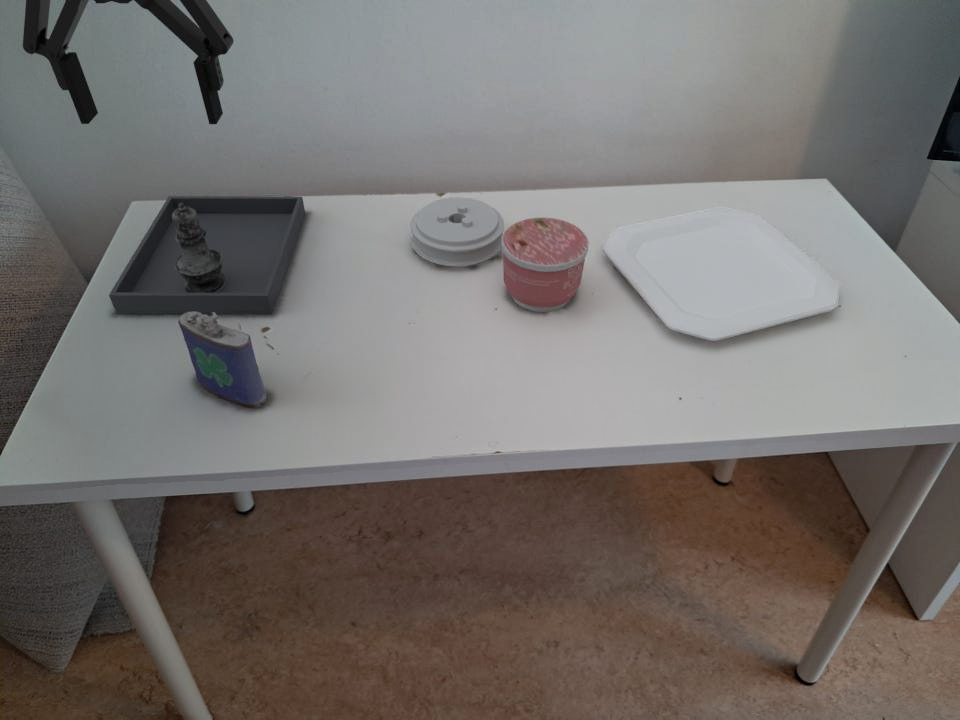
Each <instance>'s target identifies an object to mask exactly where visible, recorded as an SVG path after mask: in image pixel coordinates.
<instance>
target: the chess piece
mask: <svg viewBox="0 0 960 720" xmlns="http://www.w3.org/2000/svg"><path fill="white" fill-rule="evenodd" d="M178 206H179V208H177V209H176V210H175V211H174V212H173V214H172V219H173V222H174V225H175V228H176V231H177V235H176V237H175V239H176V241H177V242H178V243H180V246H181V249H182V253H183V254H182V255H180V256H179V257H178V258H177V260H176V261H175V264H174V267H175V270H176V271H177V272H178V273H180V275H181V276H182V277H183V278H184V279H185V280H186V283H185V285H184V289H185V291H186V292H187V293H218V292H219V291H221V290H222V289H223V288H224V287H225V286H226V284H227V278H226V276H225V275H224V274H222V273H220V272H221V269H222V262H223V256H222V254H221V253H220V252H219V251H217V250H215V249H211V248H208V246H207V244H206V240H205V236H206V232H205V230H204V229H202V228H201V226H200V223H199V219H198V216H197V213H196V211H195V210H194V209H193V208H191V207H188V206H184V204H183V203H182V202H180V203H179V205H178Z"/></svg>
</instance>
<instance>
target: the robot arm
mask: <svg viewBox="0 0 960 720" xmlns="http://www.w3.org/2000/svg"><path fill="white" fill-rule="evenodd" d="M132 1H134V2H135V3H136V4H137V5H138V6H139V7H140V8H142V9H144V10H147V11H148V12H150V13H151V14H152V15H153V16H154V17H155V18H156V19H157V20H158V21H159V22H160V23H161V24H162V25H164V26H165V27H166V28H167V30H169V31H170V32H171V33H172V34H173V35H174V36H176V37H177V38H178V39H179V40H180V41H181V42H182V43H183V44H184V45H185V46H187V48H188V49H190V50H191V51H192V52H193V53H194V54H195V55H196V56H197V57H196V58H195V59H194V61H193V67H194V71H195V74H196V78H197V83H198V85H199V90H200V93H201V97H202V101H203V106H204V109H205V113H206V117H207V121H208V124H209V125H218V123H219V121H220V119H221V118H222V116H223V114H224V112H223V107H222V104H221V100H220V96H219V92H218V91H221V89H222V87H223V86H224V81H225V80H224V76H223V71H222V68H221V63H220V58H219V56H221V55H226V54H228V52H229V50H230V49H231V47H232V46H233V44H234V38H233V36H232V35H231V33H230V32H229V30H228V29H227V27H226V26H225V25H224V23H223V22H222V20H221V19H220V18H219V16H218V14H217V13H216V12H215V11H214V9H213V8H212V7H211V5H210V3H209V2H208V1H207V0H179V1H180V3H181V5H182V6H183V7H184V9H185V10H186V11H187V13H188V14H189V15H190V17H191V18H192V19H193V20H192V19H191V18H190V17H189V16H188V15H186V13H185V12H183V11H182V10H181V8H179V7H178V6H177V5H176V4H175V3H174V2H173V1H172V0H93V2H95V4H106V3H110V2H113V3H117V4H121V5H122V4H123V5H125V4H130V3H131V2H132ZM89 2H90V0H65V1H64V4H63V6H62V8H61V11H60V13H59V15H58V18H57V20H56V22H55V24H54V27H53V29H52V31H51V33H50V36H49V38H47V37H48V29H49V19H50V7H51V0H25V9H24V23H23V24H24V25H23V34H22V35H23V36H22V48H23V51H25V53H27V54H29V55H34V54H37V55H39V56H42V57H44V58H46V59H47V61H48V62H49V65H50V67H51V70H52V73H53V74H54V77H55V80H56V83H57V85H58V86H59V88H60V89H61V91H68V93H69V95H70V98H71V101H72V103H73V106H74V108H75V111H76V114H77V116H78V119H79V121H80V124H81V125H89V124H90V123H91V122H92V121H93V120H94V119H95V117H97V115H98V114H99V110H98V108H97V106H96V103H95V101H94V98H93V95H92V91H91V89H90V86H89V84H88V81H87V78H86V76H85V73H84V71H83V70H84V69H83V67H82V65H81V62H80V58H79V56H78V54H77V52H75V51H69V52H66V51H67V50H68V49H69V48H70V47H69V45H70V42H71V41H72V38H73V36H74V33H75V32H76V29H77V27H78V26H79V23H80V21H81V19H82V16H83V14H84V11H85V10H86V7H87V5H88V3H89Z"/></svg>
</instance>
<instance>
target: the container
mask: <svg viewBox="0 0 960 720" xmlns="http://www.w3.org/2000/svg"><path fill="white" fill-rule="evenodd" d="M588 239H589V238H588V237H587V235H586V234H585V232H584V231H583V230H582V229H581V228H579V227H578V226H576V225H575V224H573V223H571V222H569V221H566V220H562V219H560V218H559V219H558V218H553V217H531V218H527V219H523V220H519V221H517V222H515V223H513V224H511V225H510V226H509V227H508V228H506V229H505V231H503V235H502V240H501V246H502V248H501V251H502V266H503V267H502V270H503V283H504V285H505V287H506V289H507V291H508V294H509V295H510V296H511V297H512V299H513V301H514V302H515V303H516V304H517V305H518V306H520V307H521V308H524V309H526V310H529V311H532V312H537V313H538V312H539V313H549V312H554V311H557V310H559V309H562V308H564V307H565V306H567V304H568V303H569V302H570V301H571V300H572V299H573V298H574V296H575V295H576V293H577V292H578V290H579V289H580V287H581V283H582V278H583V272H584V267H585V262H586V257H587V255H588V252H589V245H590V244H589V243H590V242H589V240H588Z"/></svg>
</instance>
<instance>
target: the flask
mask: <svg viewBox="0 0 960 720" xmlns="http://www.w3.org/2000/svg"><path fill="white" fill-rule="evenodd" d="M218 319H219V315H218V314H216V313H215V312H212V314H211V316H209V314H202V313H200V312H197V311H192V312H190V311H189V312H186V313H184V314H180V316H179V318H178V320H177V323H178V325H179V328H180V330H181V333H182V336H183V340H184V342H185V345H186V348H187V351H188V355H189V357H190V361H191V364H192V366H193V370H194V372H195V375H196V380H197V383H198V385H199V386H200V387H201V388H202V389H203V390H205V391H206V392H207V393H208V394H209V393H210V394H211V395H212V396H214V397H217V398H219V399H222V400H225V401H226V402H229V403H232V404H236V405H237V406H241V407H243V408H252V409H254V408H255V409H258V408H259V407H262V406H263V405H264V404H265V403H266V402H267V400H268V398H267V392H266V389H265V385H264V383H263V380H262V376H261V373H260V370H259V365H258V362H257V360H256V355H255V351H254V348H253V343H252V339H251V338H252V337H251V336H250V334H248V333H246V332H244V331H240V330H237V329H233V328H229V327H227V326H224V325H221V324H219V323H218V321H217V320H218Z"/></svg>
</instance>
